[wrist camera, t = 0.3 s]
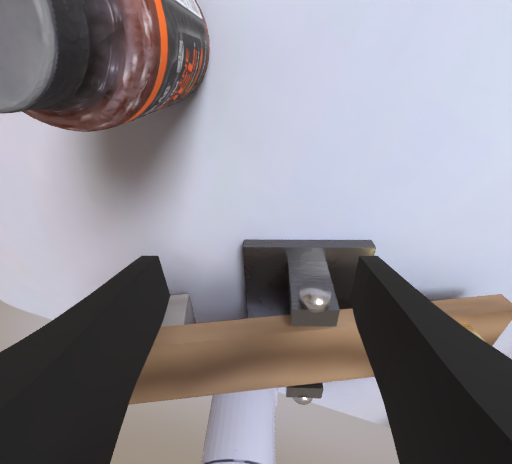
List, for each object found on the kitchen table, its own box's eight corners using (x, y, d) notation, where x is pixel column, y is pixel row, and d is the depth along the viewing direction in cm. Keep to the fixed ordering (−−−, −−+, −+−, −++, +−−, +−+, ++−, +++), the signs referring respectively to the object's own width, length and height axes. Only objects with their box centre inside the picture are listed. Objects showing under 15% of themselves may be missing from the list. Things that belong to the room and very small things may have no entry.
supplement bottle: (179, 124, 17) (55, 206, 7) (86, 53, 15) (-251, 34, 5) (234, 30, 14) (154, -42, 4) (129, -71, 12) (-408, -581, 2)
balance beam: (441, 321, 26) (477, 364, 23) (136, 352, 24) (119, 405, 21) (470, 268, 23) (519, 309, 19) (111, 300, 21) (86, 353, 17)
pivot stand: (344, 347, 28) (360, 410, 23) (251, 345, 29) (246, 405, 24) (371, 240, 20) (404, 297, 15) (244, 239, 21) (235, 295, 16)
